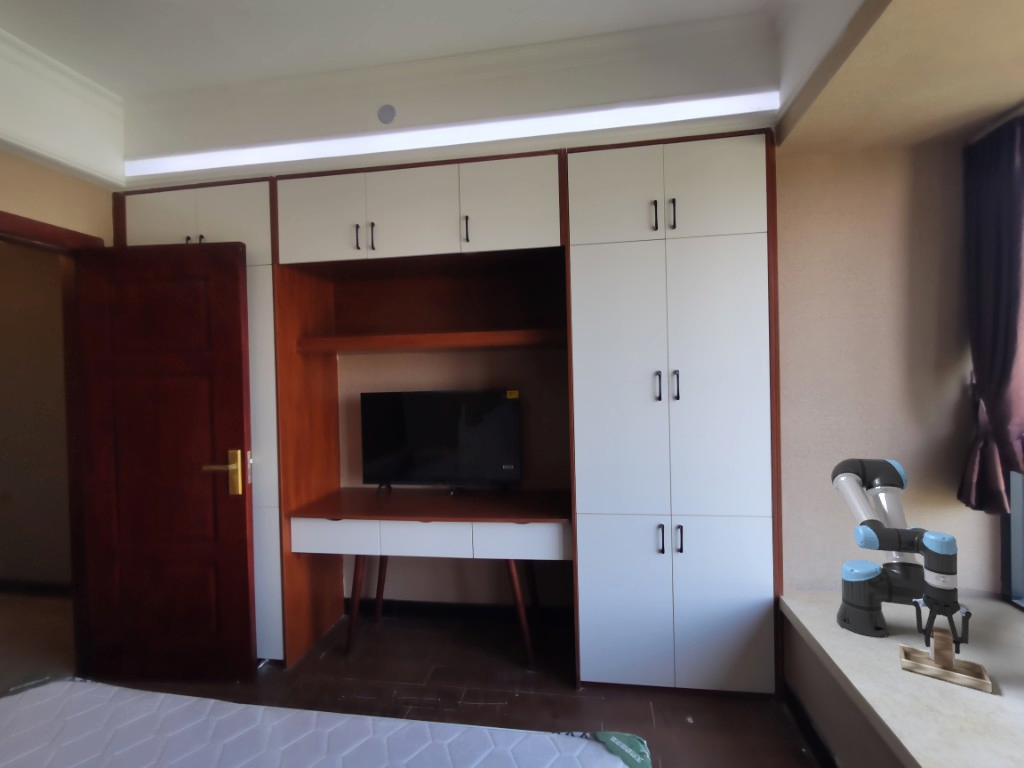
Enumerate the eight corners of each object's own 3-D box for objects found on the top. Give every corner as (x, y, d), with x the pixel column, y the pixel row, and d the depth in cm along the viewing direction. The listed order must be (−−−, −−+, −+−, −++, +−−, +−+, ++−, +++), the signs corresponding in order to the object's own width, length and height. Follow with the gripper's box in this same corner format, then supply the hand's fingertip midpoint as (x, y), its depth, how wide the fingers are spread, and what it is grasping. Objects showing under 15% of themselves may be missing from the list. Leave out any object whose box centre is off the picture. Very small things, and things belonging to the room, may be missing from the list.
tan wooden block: (934, 663, 140) (934, 634, 140) (932, 654, 145) (931, 625, 145) (952, 668, 138) (952, 638, 138) (949, 658, 142) (948, 629, 142)
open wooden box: (902, 669, 143) (901, 659, 143) (899, 652, 152) (899, 643, 151) (991, 693, 131) (991, 683, 131) (983, 674, 140) (983, 664, 140)
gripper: (905, 581, 143) (906, 656, 143) (982, 596, 133) (984, 676, 133) (903, 573, 149) (904, 645, 149) (977, 586, 139) (978, 663, 139)
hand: (942, 660), depth 141 cm, fingers closed on tan wooden block, 4 cm apart
